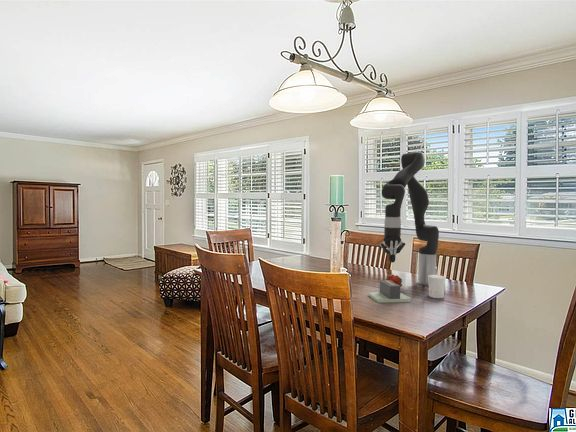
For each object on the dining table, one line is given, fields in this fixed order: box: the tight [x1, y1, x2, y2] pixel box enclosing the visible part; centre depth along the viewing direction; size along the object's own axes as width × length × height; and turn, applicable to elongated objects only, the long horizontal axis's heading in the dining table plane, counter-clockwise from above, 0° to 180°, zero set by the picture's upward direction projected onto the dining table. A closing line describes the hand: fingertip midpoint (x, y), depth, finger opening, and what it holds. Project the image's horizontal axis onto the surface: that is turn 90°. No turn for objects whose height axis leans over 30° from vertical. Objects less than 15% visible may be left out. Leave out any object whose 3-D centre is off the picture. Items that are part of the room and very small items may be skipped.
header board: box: [368, 291, 412, 304], centre depth 174 cm, size 16×12×4 cm
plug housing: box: [379, 279, 401, 299], centre depth 174 cm, size 5×12×6 cm, turn 8°
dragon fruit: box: [385, 274, 403, 288], centre depth 190 cm, size 8×8×12 cm
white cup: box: [427, 274, 447, 299], centre depth 178 cm, size 8×8×10 cm
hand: (391, 262), depth 174 cm, fingers closed
